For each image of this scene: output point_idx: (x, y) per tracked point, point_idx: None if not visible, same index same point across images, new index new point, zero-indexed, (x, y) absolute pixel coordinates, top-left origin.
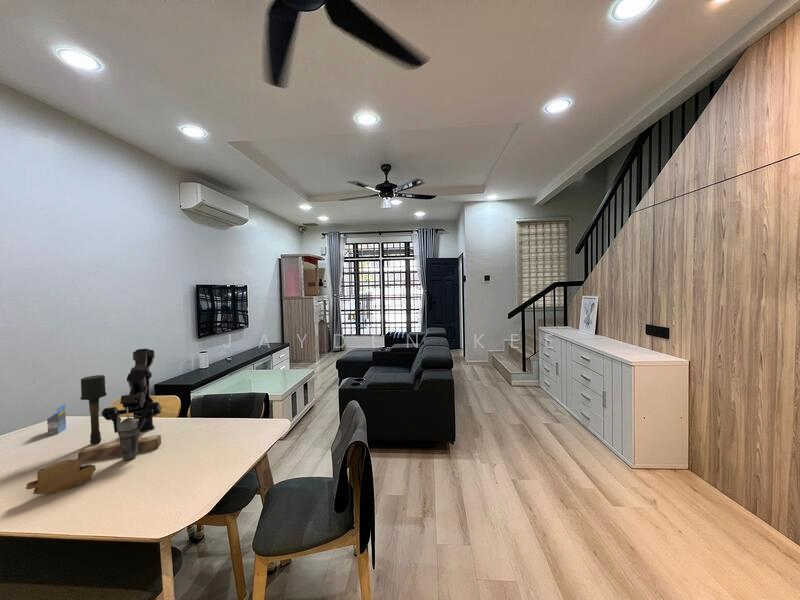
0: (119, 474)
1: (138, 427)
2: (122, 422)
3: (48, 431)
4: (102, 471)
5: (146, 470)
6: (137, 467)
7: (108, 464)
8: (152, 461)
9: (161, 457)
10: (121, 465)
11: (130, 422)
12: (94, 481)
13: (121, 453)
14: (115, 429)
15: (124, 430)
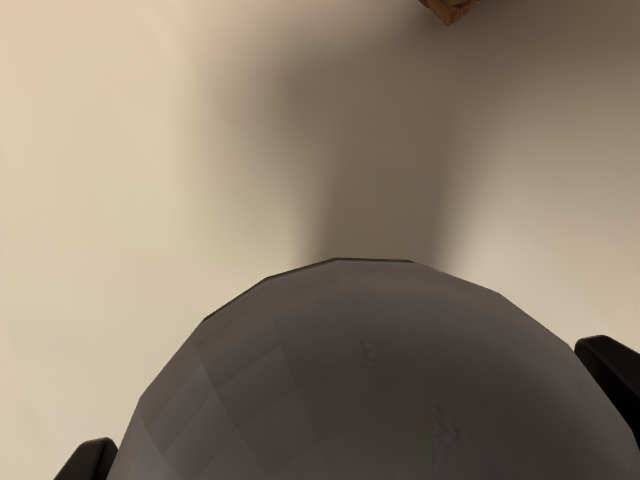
0: (240, 84)
1: (87, 451)
2: (500, 379)
3: None
4: (440, 173)
5: (31, 105)
6: (146, 181)
7: None
8: (58, 279)
9: (2, 354)
10: None
11: (208, 393)
12: (382, 11)
13: None
14: (627, 367)
15: (330, 261)
